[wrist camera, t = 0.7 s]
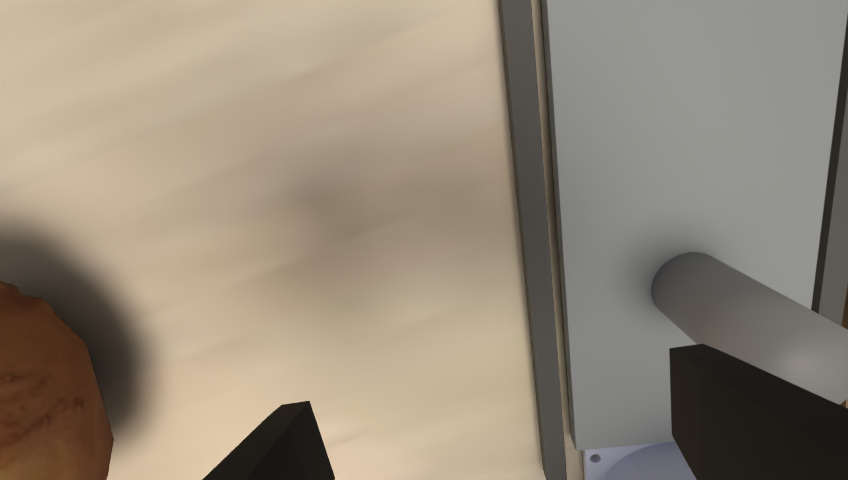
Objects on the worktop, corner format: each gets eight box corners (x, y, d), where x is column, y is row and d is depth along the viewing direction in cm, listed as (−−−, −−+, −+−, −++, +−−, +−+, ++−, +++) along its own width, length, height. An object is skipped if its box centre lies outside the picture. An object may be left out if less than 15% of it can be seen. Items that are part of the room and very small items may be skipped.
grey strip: (782, 417, 20) (946, 565, 14) (571, 438, 21) (630, 586, 14) (856, -250, 13) (1284, -620, 6) (529, -177, 14) (609, -438, 7)
